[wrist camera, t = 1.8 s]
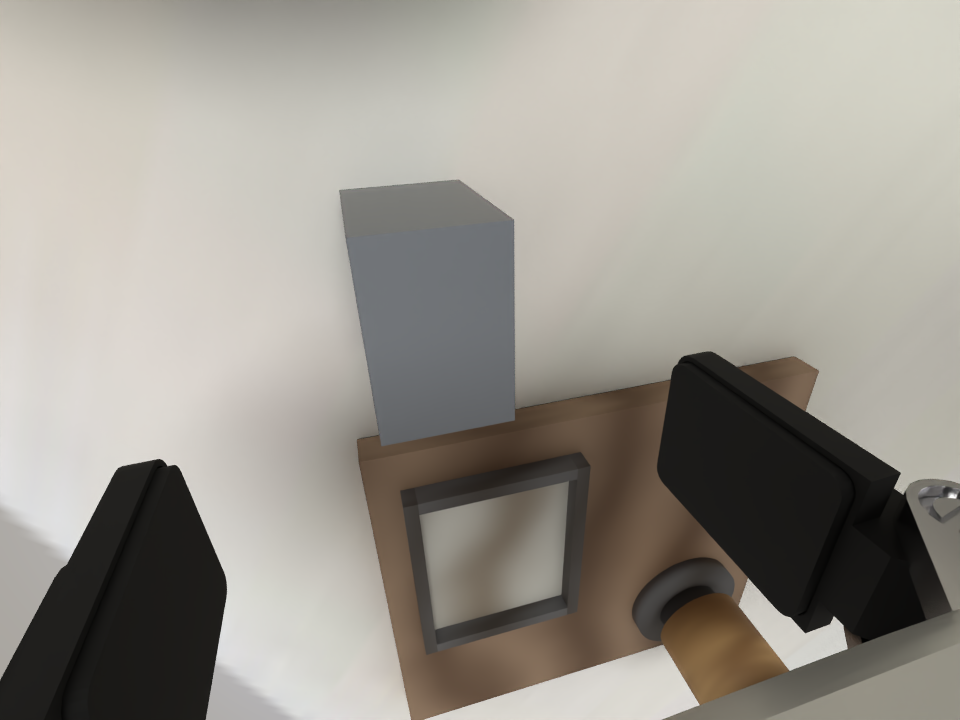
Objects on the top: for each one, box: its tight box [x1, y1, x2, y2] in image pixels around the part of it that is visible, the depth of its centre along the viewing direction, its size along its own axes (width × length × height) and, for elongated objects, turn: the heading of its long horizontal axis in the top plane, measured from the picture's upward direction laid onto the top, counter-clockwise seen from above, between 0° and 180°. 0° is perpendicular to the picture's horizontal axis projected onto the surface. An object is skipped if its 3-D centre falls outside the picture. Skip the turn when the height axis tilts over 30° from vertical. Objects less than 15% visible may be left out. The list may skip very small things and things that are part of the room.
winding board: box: [357, 357, 819, 720], centre depth 24 cm, size 22×20×10 cm
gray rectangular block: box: [339, 180, 515, 446], centre depth 16 cm, size 4×6×6 cm, turn 2°
